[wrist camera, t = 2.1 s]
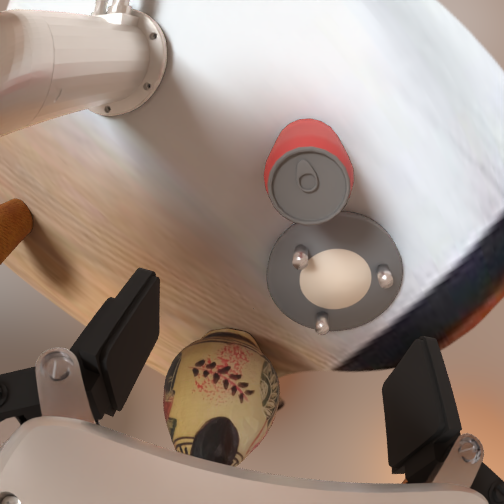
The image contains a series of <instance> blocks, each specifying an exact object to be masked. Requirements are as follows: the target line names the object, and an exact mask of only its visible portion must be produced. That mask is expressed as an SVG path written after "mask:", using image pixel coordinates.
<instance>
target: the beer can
mask: <svg viewBox="0 0 504 504" xmlns="http://www.w3.org/2000/svg"><path fill="white" fill-rule="evenodd" d="M264 181H265V188H266V191H267V193H268V195H269V198H270V200H271V202H272V204H273V206H274V208H275V209H276V210H277V211H278V212H279V213H280V214H281V215H282V216H283V217H285V218H286V219H288V220H290V221H292V222H294V223H298V224H302V225H319V224H322V223H325V222H328V221H330V220H332V219H333V218H334V217H336V216H337V215H338V214H340V212H341V211H342V210H343V208H344V207H345V205H346V204H347V202H348V199H349V197H350V193H351V190H352V187H353V183H354V176H353V167H352V164H351V162H350V159H349V157H348V155H347V153H346V151H345V149H344V147H343V145H342V143H341V141H340V140H339V138H338V136H337V134H336V133H335V132H334V131H333V130H332V128H331V127H330V126H328V125H326V124H325V123H323V122H321V121H318V120H314V119H299V120H297V121H294V122H292V123H290V124H289V125H287V126H286V127H285V128H284V129H283V130H282V131H281V133H280V135H279V136H278V138H277V140H276V142H275V144H274V146H273V148H272V150H271V152H270V154H269V157H268V159H267V161H266V165H265V170H264Z"/></svg>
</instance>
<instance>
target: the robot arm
mask: <svg viewBox="0 0 504 504" xmlns="http://www.w3.org/2000/svg"><path fill="white" fill-rule="evenodd" d="M129 1H130V0H113V3H112V6H109V7H108V11H107V12H106V7H107V3H108V0H96V2H95V4H96V5H95V11H94V12H92V13H91V15H83V14H75V13H66V12H56V11H43V10H21V9H15V10H6V11H2V12H0V137H2V136H4V135H7V134H9V133H12V132H15V131H17V130H21V129H24V128H26V127H29V126H32V125H35V124H38V123H41V122H44V121H47V120H50V119H54V118H57V117H60V116H63V115H67V114H70V113H74V112H77V111H81V110H85V109H89V110H90V111H92V112H94V113H96V114H100V115H104V116H115V115H120V114H124V113H127V112H130V111H132V110H134V109H136V108H138V107H140V106H141V105H142V104H143V103H145V102H146V101H147V100H148V99H149V98H150V97H151V96H152V94H153V93H154V92H155V91H156V89H157V87H158V86H159V84H160V82H161V80H162V77H163V75H164V72H165V68H166V63H167V45H166V40H165V37H164V34H163V31H162V30H161V28H160V27H159V25H158V24H157V22H156V21H155V20H153V19H152V18H151V17H150V16H148V15H147V14H145V13H143V12H140V11H138V10H134V9H132V7H131V6H129ZM156 35H157V38H156V39H155V36H156ZM149 84H150V85H151V87H150V88H149ZM110 108H111V109H110ZM159 298H160V279H159V277H156V274H155V272H153V271H150V270H146V269H143V268H138V269H137V270H136V272H135V273H134V274H133V275H132V277H131V278H130V279H129V281H128V282H127V283H126V285H125V286H124V287H123V288H122V290H121V291H120V292H119V294H118V295H117V296H116V298H112V297H110V298H108V299H107V300H106V301H105V303H104V304H103V305H102V307H101V308H100V309H99V310H98V312H97V313H96V314H95V316H94V317H93V318H92V320H91V321H90V322H89V324H88V325H87V327H86V328H85V329H84V331H83V332H82V333H81V335H80V336H79V337H78V339H77V341H76V342H75V343H74V344H73V346H72V347H71V349H70V350H67V349H64V348H52V349H49V350H47V351H45V352H43V353H42V354H41V355H40V356H39V358H38V359H37V362H36V366H35V367H31V368H27V369H23V370H18V371H14V372H10V373H6V374H1V375H0V448H1V447H2V443H4V442H5V441H7V440H8V441H7V443H6V444H5V446H4V447H3V449H2V450H1V452H0V504H504V482H503V480H501V479H500V478H499V477H498V476H497V475H496V474H495V473H494V472H493V471H492V470H491V469H489V468H488V467H487V466H486V465H485V464H484V463H483V462H482V461H483V457H484V450H483V446H482V444H481V442H480V441H479V440H478V439H477V438H476V437H475V436H473V435H472V434H462V435H460V430H462V428H461V423H460V419H459V415H458V411H457V407H456V403H455V399H454V395H453V391H452V388H451V384H450V381H449V377H448V374H447V371H446V367H445V364H444V361H443V358H442V355H441V352H440V348H439V345H438V342H437V340H436V339H435V338H431V337H425V336H421V337H420V338H419V339H416V340H415V341H414V342H413V343H412V345H411V346H410V348H409V349H408V351H407V352H406V354H405V355H404V356H403V358H402V359H401V361H400V362H399V363H398V365H397V366H396V367H395V369H394V370H393V372H392V373H391V374H390V375H389V377H388V378H387V379H386V381H385V382H384V384H383V387H382V395H383V404H384V412H385V422H386V433H387V434H386V435H387V448H388V462H389V466H391V467H392V474H404V473H405V480H404V481H403V482H402V484H370V483H347V482H346V483H345V482H333V481H321V480H311V479H303V478H295V477H288V476H281V475H275V474H269V473H263V472H257V471H253V470H247V469H243V468H238V467H233V466H229V465H225V464H220V463H216V462H212V461H208V460H204V459H201V458H197V457H193V456H190V455H186V454H183V453H180V452H176V451H173V450H170V449H167V448H164V447H160V446H157V445H154V444H151V443H148V442H145V441H142V440H139V439H137V438H134V437H131V436H128V435H126V434H123V433H120V432H117V431H114V430H111V429H109V428H106V427H103V426H101V425H100V422H99V420H100V419H102V418H103V416H104V414H108V415H110V416H114V414H115V412H116V410H118V411H121V410H122V408H123V406H124V404H125V402H126V400H127V398H128V396H129V394H130V392H131V390H132V388H133V386H134V384H135V382H136V380H137V378H138V376H139V374H140V372H141V370H142V368H143V366H144V364H145V362H146V360H147V359H148V357H149V355H150V353H151V351H152V349H153V347H154V345H155V343H156V341H157V339H158V336H159Z"/></svg>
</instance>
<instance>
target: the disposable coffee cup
mask: <svg viewBox="0 0 504 504" xmlns="http://www.w3.org/2000/svg"><path fill="white" fill-rule="evenodd" d="M32 227H33V221H32V216H31V213H30V211H29V209H28V208H27V206H26V205H25V204H24V203H23V202H22V201H21V200H19V199H12V200H10V201H8V202H5V203H3V204H1V205H0V265H1V264H2V262H3V261H4V260H5V259H6V257H8V256H9V254H10V253H11V252H12V251H13V250H14V249H15V248H16V247H17V245H18V244H19V243H20V242H21V241H22V240H23V239H24V238H25V237H26V236H27V235H28V234H29V233H30V232H31V230H32Z"/></svg>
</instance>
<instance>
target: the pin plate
mask: <svg viewBox="0 0 504 504" xmlns="http://www.w3.org/2000/svg"><path fill="white" fill-rule="evenodd" d="M300 244H301V245H305V246H306V247H307V248H308V265H307V267H306V268H305V269H302V270H298V269H296V268H294V266H293V264H292V261H293V251H294V248H295V246H297V245H300ZM380 264H387V265H388V266H389V269H390V272H391V275H392V277H393V284H392V286H391V287H389V288H382V287H381V286H380V284H379V281H378V277H377V273H376V268H377V266H378V265H380ZM402 273H403V270H402V261H401V257H400V254H399V252H398V249H397V247H396V245H395V243H394V241H393V239H392V238H391V236H390V235H389V234H388V232H387V231H386V230H385V229H384V228H383V227H382V226H381V225H379V224H378V223H376V222H375V221H373V220H372V219H370V218H368V217H366V216H363V215H360V214H357V213H353V212H347V211H341V212H340V214H338V215H337V216H336V217H334V218H333V219H332V220H330V221H328V222H325V223H322V224H319V225H302V224H298V223H295V224H293V225H292V226H291V227H290V228H288V229H287V230H286V231H285V232H284V233H283V234H282V235H281V237H280V238H279V239H278V241H277V242H276V244H275V246H274V248H273V250H272V252H271V255H270V258H269V263H268V268H267V284H268V289H269V292H270V295H271V297H272V299H273V301H274V302H275V304H276V305H277V307H278V308H279V309H280V310H281V311H282V312H283V313H284V314H285V315H286V316H287V317H289V318H290V319H292V320H293V321H295V322H297V323H299V324H301V325H303V326H306V327H309V328H313V329H316V314H317V313H318V312H321V311H324V312H326V313H328V317H329V331H341V330H347V329H351V328H355V327H358V326H361V325H363V324H366V323H368V322H370V321H371V320H373V319H375V318H376V317H378V316H379V315H380V314H381V313H383V312H384V311H385V310H386V309H387V308H388V307H389V305H390V304H391V303H392V301H393V300H394V298H395V297H396V295H397V293H398V290H399V288H400V285H401V281H402Z"/></svg>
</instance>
